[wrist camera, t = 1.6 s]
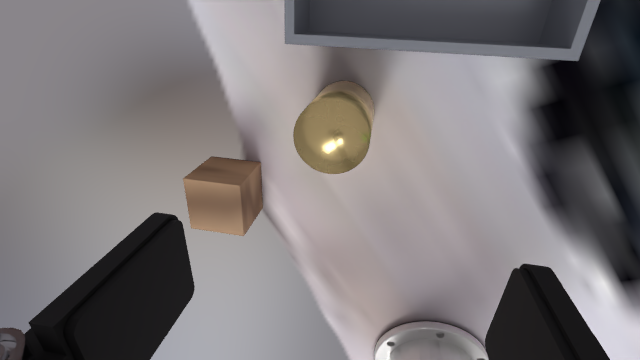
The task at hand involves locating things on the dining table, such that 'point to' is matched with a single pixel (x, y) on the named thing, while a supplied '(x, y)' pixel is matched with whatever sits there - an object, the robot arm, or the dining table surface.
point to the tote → (445, 26)
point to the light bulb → (335, 128)
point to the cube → (224, 195)
